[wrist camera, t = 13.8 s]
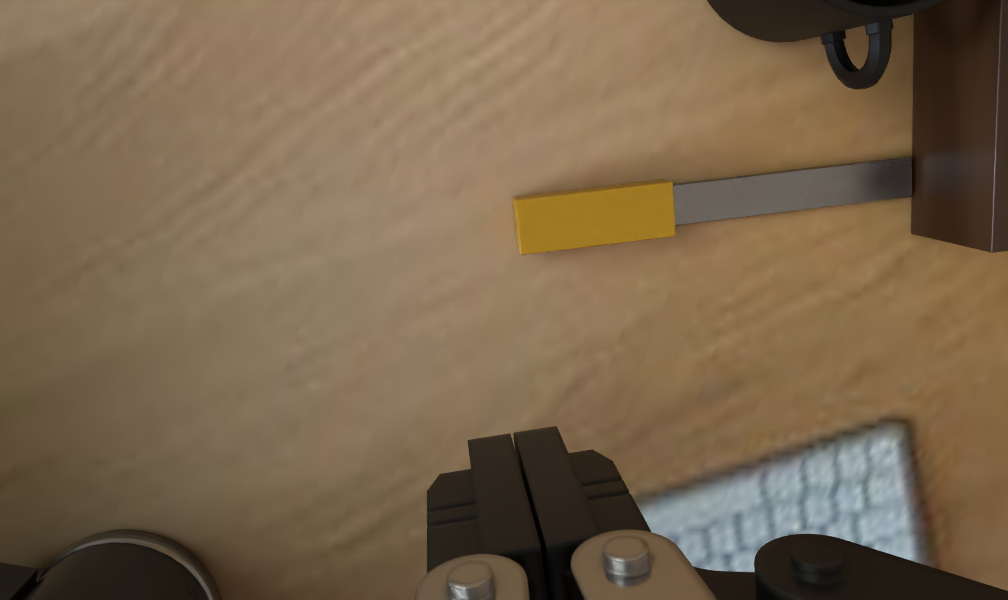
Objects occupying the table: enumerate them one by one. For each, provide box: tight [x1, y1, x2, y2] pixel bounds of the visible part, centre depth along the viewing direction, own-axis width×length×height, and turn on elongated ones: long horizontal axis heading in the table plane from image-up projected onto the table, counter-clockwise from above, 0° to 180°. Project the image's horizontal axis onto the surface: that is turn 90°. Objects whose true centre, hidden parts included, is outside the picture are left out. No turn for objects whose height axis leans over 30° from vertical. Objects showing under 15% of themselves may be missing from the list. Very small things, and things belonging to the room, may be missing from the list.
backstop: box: [911, 0, 1008, 253], centre depth 34 cm, size 2×20×6 cm, turn 6°
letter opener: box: [512, 156, 912, 255], centre depth 37 cm, size 20×3×2 cm, turn 96°
